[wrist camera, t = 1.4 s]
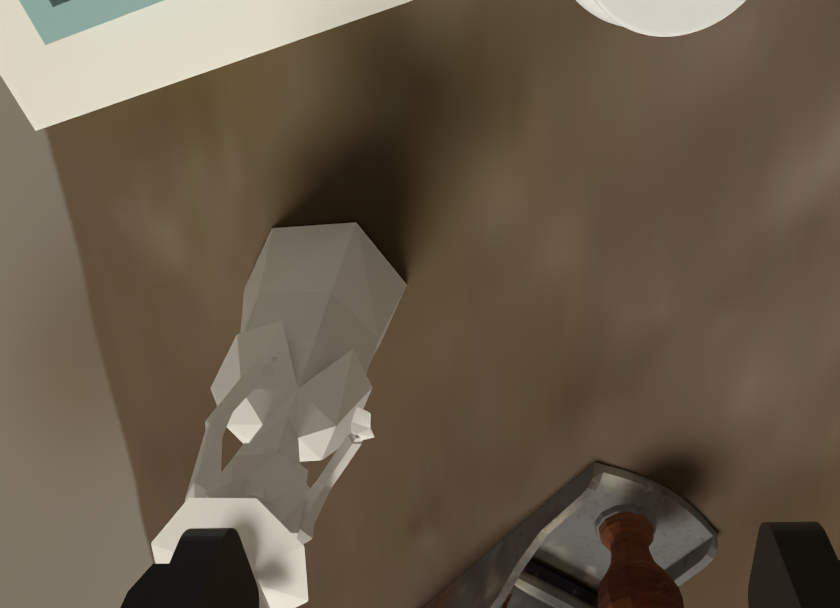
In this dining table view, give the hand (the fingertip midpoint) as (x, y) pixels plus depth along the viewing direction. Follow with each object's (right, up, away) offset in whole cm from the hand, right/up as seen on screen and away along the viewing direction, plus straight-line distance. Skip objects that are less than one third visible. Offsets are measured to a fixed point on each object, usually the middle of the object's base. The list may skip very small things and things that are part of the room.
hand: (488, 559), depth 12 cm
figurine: (-6, +5, +24) cm, 25 cm away
